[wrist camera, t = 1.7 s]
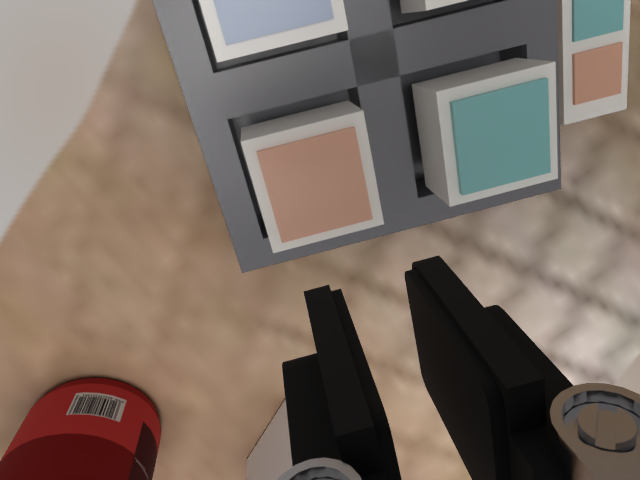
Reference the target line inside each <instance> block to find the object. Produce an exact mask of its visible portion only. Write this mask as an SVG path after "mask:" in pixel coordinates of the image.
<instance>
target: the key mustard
mask: <svg viewBox="0 0 640 480" xmlns="http://www.w3.org/2000/svg"><path fill="white" fill-rule="evenodd" d="M463 1H467V0H400V6H401V13H402V14H403V13H411V12H420V11H427V10H431V9H435V8H439V7H443V6H447V5H451V4H455V3H459V2H463Z"/></svg>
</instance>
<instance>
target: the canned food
mask: <svg viewBox="0 0 640 480" xmlns="http://www.w3.org/2000/svg"><path fill="white" fill-rule="evenodd" d="M160 437H161V428H160V422H159V417H158V413H157V411H156V409H155V407H154V404H153V403H152V402H151V401H150V400H149V398H148V397H147V396H146V395H144V394H143V393H142V392H141V391H139V390H138V389H136V388H134V387H132V386H130V385H128V384H126V383H123V382H120V381H117V380H111V379H106V378H86V379H78V380H74V381H71V382H67V383H65V384H62V385H60V386H58V387H56V388H54V389H53V390H52V391H50V392H49V393H47V394H46V395H45V396H44V397H42V398H41V399H40V400H39V401H38V402H37V403H36V404H35V405H34V406H33V407H32V408H31V410H30V411H29V413H28V415H27V416H26V418H25V420H24V422H23V423H22V425H21V427H20V428H19V430H18V432H17V434H16V435H15V437H14V439H13V440H12V442H11V444H10V446H9V447H8V449H7V451H6V452H5V454H4V456H3V458H2V459H1V461H0V480H152V477H153V472H154V467H155V463H156V458H157V453H158V448H159V443H160Z"/></svg>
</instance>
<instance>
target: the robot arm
mask: <svg viewBox="0 0 640 480" xmlns="http://www.w3.org/2000/svg"><path fill="white" fill-rule="evenodd" d="M405 281H406V287H407V293H408V299H409V304H410V310H411V316H412V322H413V328H414V333H415V339H416V345H417V351H418V356H419V362H420V368H421V373H422V377H423V380H424V383H425V386H426V388H427V391H428V393H429V395H430V397H431V399H432V400H433V402H434V404H435V406H436V408H437V410H438V412H439V414H440V416H441V418H442V420H443V422H444V424H445V426H446V428H447V430H448V432H449V434H450V436H451V438H452V440H453V442H454V444H455V446H456V448H457V450H458V452H459V454H460V456H461V458H462V460H463V462H464V464H465V466H466V468H467V470H468V472H469V474H470V476H471V478H472V480H640V395H639V394H637V393H635V392H633V391H630V390H628V389H625V388H623V387H619V386H614V385H610V384H604V383H586V384H580V385H575V386H573V385H572V384H571V382H570V381H569V380H568V379H567V378H566V377H565V376H564V375H563V374H562V373H561V372H560V370H559V369H558V368H557V367H556V366H555V365H554V364H553V363H552V362H551V361H550V360H549V359H548V357H547V356H546V355H545V354H544V353H543V352H542V351H541V350H540V349H539V348H538V347H537V346H536V344H535V343H534V342H533V341H532V340H531V339H530V338H529V337H528V336H527V335H526V334H525V333H524V331H523V330H522V329H521V328H520V327H519V326H518V325H517V324H516V323H515V322H514V321H513V319H512V318H511V317H510V316H509V315H508V314H507V313H506V312H505V311H504V310H503V309H502V308H501V307H500V306H498V305H493V306H489V307H485V308H484V307H483V306H482V305H481V304H480V302H479V301H478V300H477V299H476V298H475V297H474V295H473V294H472V293H471V292H470V291H469V290H468V288H467V287H466V286H465V285H464V284H463V283H462V281H461V280H460V279H459V278H458V277H457V276H456V274H455V273H454V272H453V271H452V270H451V269H450V267H449V266H448V265H447V264H446V263H445V262H444V260H443V259H442V258H441V257H440V256H435V257H432V258H428V259H424V260H420V261H417V262H413V263H412V270H409V271H406V272H405ZM304 295H305V300H306V304H307V309H308V314H309V318H310V323H311V327H312V332H313V337H314V341H315V346H316V351H317V353H316V354H312V355H308V356H305V357H301V358H297V359H294V360H290V361H286V362H283V364H282V369H283V379H284V389H285V398H286V408H287V418H288V427H289V437H290V447H291V457H292V466H293V467H292V468H290V469H289V470H287V471H286V472H284V473H283V474H282V475H281V476H280V477H279V479H278V480H401V475H400V471H399V466H398V462H397V457H396V452H395V448H394V443H393V439H392V435H391V431H390V427H389V423H388V420H387V417H386V413H385V410H384V407H383V404H382V402H381V399H380V396H379V393H378V391H377V388H376V385H375V382H374V380H373V377H372V374H371V371H370V368H369V366H368V363H367V360H366V357H365V355H364V352H363V349H362V346H361V344H360V341H359V338H358V335H357V333H356V330H355V327H354V324H353V321H352V319H351V316H350V313H349V310H348V308H347V305H346V302H345V299H344V297H343V294H342V291H341V289H338V290H334V291H331V290H330V287H329V285H326V286H323V287H319V288H315V289H311V290H308V291H304Z"/></svg>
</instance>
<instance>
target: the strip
mask: <svg viewBox="0 0 640 480" xmlns="http://www.w3.org/2000/svg"><path fill="white" fill-rule="evenodd" d="M630 4H631V0H557V13H558V65H559V116H560V124H561V125H567V124H571V123H575V122H579V121H583V120H586V119H590V118H594V117H598V116H602V115H606V114H609V113H613V112H617V111H621V110H625V109H627V85H628V58H629V31H630Z"/></svg>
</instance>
